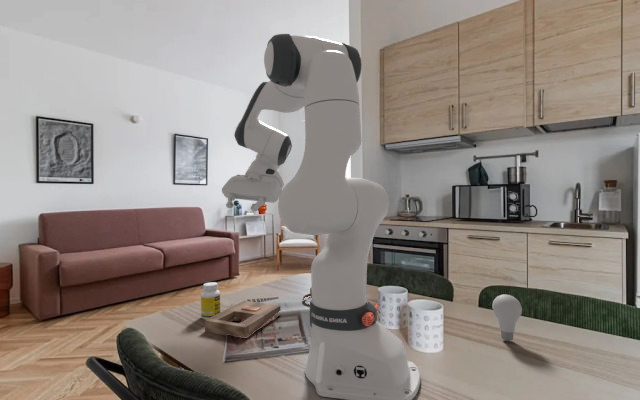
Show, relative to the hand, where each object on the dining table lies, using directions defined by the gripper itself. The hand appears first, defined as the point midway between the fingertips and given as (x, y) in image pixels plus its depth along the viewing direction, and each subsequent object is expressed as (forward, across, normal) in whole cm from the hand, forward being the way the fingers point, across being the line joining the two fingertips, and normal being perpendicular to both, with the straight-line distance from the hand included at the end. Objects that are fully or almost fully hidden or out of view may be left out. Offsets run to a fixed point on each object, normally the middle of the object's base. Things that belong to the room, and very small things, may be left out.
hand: (240, 208), depth 104 cm
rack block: (+29, +11, +13) cm, 34 cm away
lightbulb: (+16, +76, +18) cm, 80 cm away
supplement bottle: (+30, -2, +15) cm, 33 cm away
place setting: (+10, +25, +34) cm, 43 cm away
